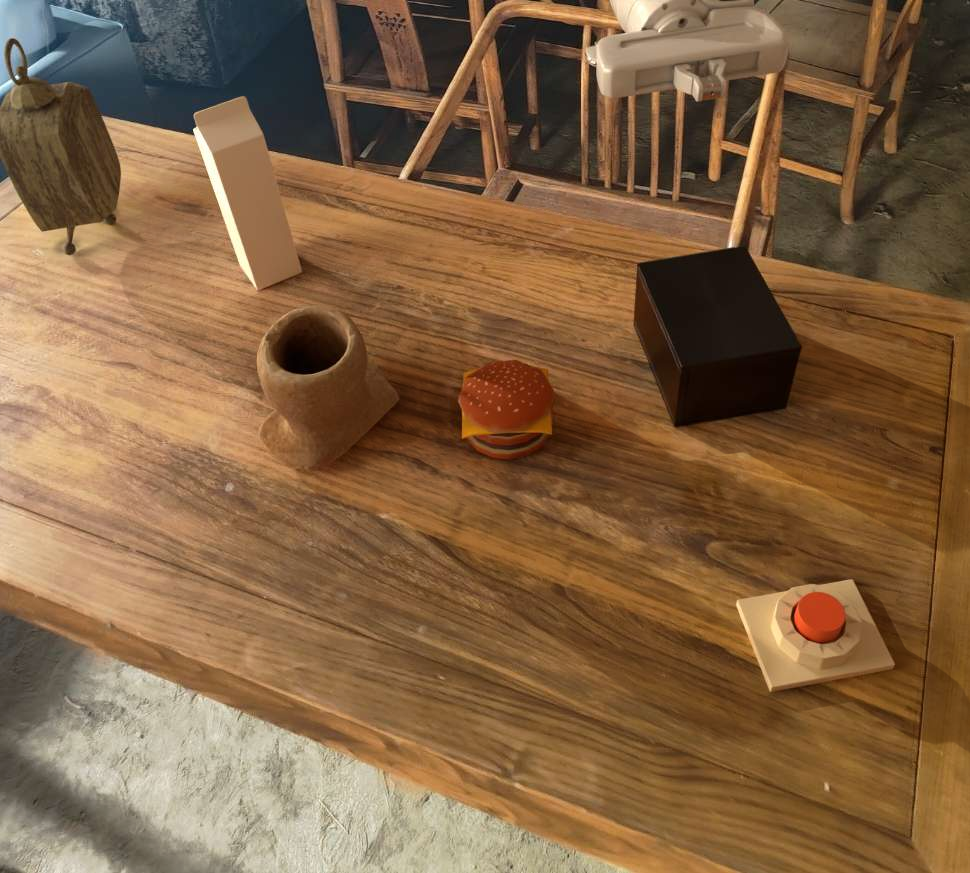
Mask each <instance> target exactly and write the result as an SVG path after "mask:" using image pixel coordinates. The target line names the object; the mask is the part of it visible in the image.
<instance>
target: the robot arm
mask: <svg viewBox="0 0 970 873" xmlns="http://www.w3.org/2000/svg"><path fill="white" fill-rule="evenodd" d="M609 3H610V6H611V9H612V12H613V14H614V16H615V18H616V20H617V23H618V24H619V26H620V27H621V29H622V30H623V31H624V33H619V34H618V33H617V34H612V35H611V34H610V35H607V36H604V37H603V38H600V39H599V40H597V41H595V42H594V44H593V45H590V46H587V47H586V48H585V50H584V56H585V58H586V61H587V62H588V64H589V65H591V66H592V67H594V68H596V70H595V71H596V81H597V85H598V86H597V87H598V88H599V92H600V94H601V95H602V96H604V97H606V98H608V99H620V98H625V97H626V98H627V97H633V96H639V95H645V94H652V93H658V92H663V91H664V92H665V91H669V90H671V91H672V90H677V91H679V92H683V93H685V94H687V95H690V96H692V97H693V98H694V100H695V102H697V103H698V102H704V101H709V100H714V99H722V98H723V99H724V98H725V97H726V93H727V81H732V80H733V81H734V80H739V79H744V78H745V79H747V78H751V77H759V76H763V75H771V74H778V73H780V72H781V71H783V70H784V68H785V66H786V65H787V64H786V63H787V60H788V55H789V49H790V36H789V34H788V33H787V31H786V30H785V29H784V27H783V26H782V25H781V24H780V22H778V21H777V19H776V18H774V17H773V15H771V14H770V13H769V12H767V11H766V10H764V9H763V8H761V7H756V6H755V0H609Z"/></svg>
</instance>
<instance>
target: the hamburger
mask: <svg viewBox="0 0 970 873" xmlns="http://www.w3.org/2000/svg"><path fill="white" fill-rule="evenodd" d="M462 376H463V377H462V388H461V391H460V394H459V395H458V399H457V403H458V405H459V408H460V409H461V439H462V440H463V439H467V441H468V442H469V444H471V445H472V447H473V448H474V449H475V450H476V451H477V452H479V453H481V454H483V455H486V456H487V457H489V458H492V459H500V460H514V459H520V458H523V457H528V456H530V455H531V454H533V453H535V452H536V451H539V449H542V447H543V446H544V445H545V444H546V442H547V441H548V439H549V438H550V437H551V435H553V427H554V416H553V410H554V409H553V408H554V402H553V401H554V398H555V395H556V391H555V390H554V387H553V386H552V384H551V383H550V378H549V368H547V367H546V368H545V367H540V366H533V365H532V364H529V363H526V362H523V361H520V360H518V359H511V360H501V361H500V360H499V361H489V362H487V363H486V364H484V365H482V366H481V367H480V368H478V369H473V370H469V371H466V372H464V373H463V375H462Z"/></svg>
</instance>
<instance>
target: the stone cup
mask: <svg viewBox="0 0 970 873" xmlns="http://www.w3.org/2000/svg"><path fill="white" fill-rule="evenodd" d="M256 356H257V357H256V368H257V370H256V371H257V375H258V379H259V382H260V386H261V389H262V391H263V393H264V396H265V398H266V399H267V401H268V402H269V404H270V405H271V406H272V407H273V408H274V409H273V410H272V412H270V413H269V414H268V416H266V418H265V419H264V421H263V422H262V423H261V425H260V426H259V429H258V436H259V441H260V442H261V444H262V445H263V447H264V448H265V450H266V451H267V453H268V454H269V455H270V456H271V457H272V458H274V459H275V460H276V461H278V462H280V463H282V464H283V465H285V466H287V467H288V468H292V469H298V470H299V469H304V470H305V471H307V472H314V471H318V470H321V469H324V468H325V467H327V466H328V465H330V464H331V463H333V462H334V461H336V460H337V459H339V458H340V457H341V456H343V455H344V454H345V453H347V452H348V451H349V450H350V449H351V448H352V447H353V446H354V445H355V444H356V443H357V442H358V441H359V440H361V438H363V437H364V436H365V435H366V434H367V433H368V432H369V431H370V430H371V429H372V428H373V427H375V425H376V424H377V423H378V422H379V421H380V420H381V419H382V418H383V417H385V415H386V414H387V413H388V412H389V411H390V410H392V409H393V407H394V406H395V405H396V404H397V403H398V401H399V400H400V396H399V393H398V392H397V390H396V389H395V388H394V387H393V386H392V385H391V384H390V382H389V381H388V380H387V379H386V378H385V377H384V375H383V374H381V373H380V368H379V366H378V365H377V364H376V361H375V360H374V359H373V358H372V357H371V356H370V355H369V354H368V351H367V346H366V342H365V338H364V336H363V335H362V333H361V331H360V329H359V328H358V326H357V325H356V323H355V322H354V320H352V318H351V317H350V315H349V316H348V314H347V313H345V312H343V311H342V310H340V309H338V308H335V307H332V306H327V305H319V304H314V305H308V306H301V307H297V308H295V309H292V310H290V311H288V312H287V313H285V314H284V315H281V317H280V318H278V319H277V320H276V321H275V322H273V324H272V325H270V327H269V329H268V330H267V331H266V332H265V334H264V336H263V337H262V339H261V341H260V343H259V346H258V350H257V353H256Z"/></svg>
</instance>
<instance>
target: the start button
mask: <svg viewBox="0 0 970 873" xmlns="http://www.w3.org/2000/svg"><path fill="white" fill-rule="evenodd" d="M845 617H846V615H845V610H844V607H843V606H842V604H841V603H840V602H839V601H838V600H837V599H836V598H835V597H833V596H831V595H829V594H827V593H823V592H812V593H808V594H806V595H804V596H803V597H802V598H801V599H800V601H799V603H798V606H797V608H796V611H795V614H794V624H795V626H796V628H797V630H798V631H799V633H800V634H801V635H802V636H804V637H805V638H807V639H808V640H811V641H814V642H819V643H825V642H829V641H832V640H834V639H835V638H836V637H837V636H838V635H839V633H840V631H841V629H842V626H843V624H844V622H845Z"/></svg>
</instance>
